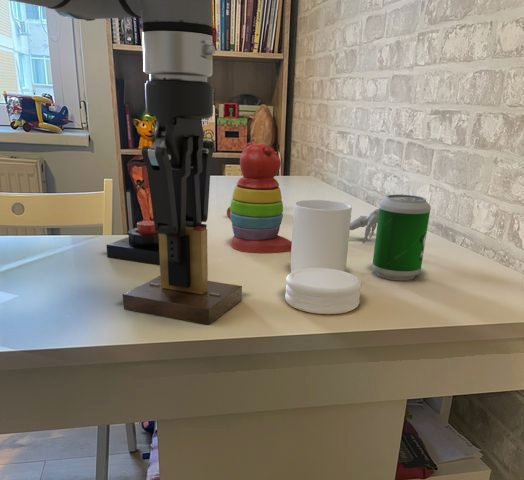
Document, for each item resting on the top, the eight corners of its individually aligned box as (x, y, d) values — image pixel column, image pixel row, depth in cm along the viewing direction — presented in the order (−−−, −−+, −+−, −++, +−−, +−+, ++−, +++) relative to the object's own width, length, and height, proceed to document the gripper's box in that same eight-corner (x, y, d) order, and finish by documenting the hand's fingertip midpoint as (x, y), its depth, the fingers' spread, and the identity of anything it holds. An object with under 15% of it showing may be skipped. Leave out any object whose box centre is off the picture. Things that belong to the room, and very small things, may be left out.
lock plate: (123, 309, 70) (122, 292, 69) (164, 287, 79) (163, 272, 78) (208, 325, 67) (208, 308, 66) (242, 300, 75) (242, 284, 74)
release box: (107, 257, 92) (105, 233, 90) (140, 244, 100) (139, 222, 99) (160, 265, 88) (159, 241, 87) (190, 251, 97) (189, 228, 95)
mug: (334, 261, 95) (340, 196, 90) (350, 282, 84) (358, 210, 79) (283, 260, 94) (287, 195, 89) (294, 282, 83) (298, 209, 79)
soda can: (416, 284, 84) (429, 203, 79) (367, 278, 86) (376, 198, 81) (421, 271, 91) (433, 196, 86) (375, 266, 93) (384, 192, 88)
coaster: (372, 311, 73) (376, 286, 71) (302, 318, 69) (304, 292, 68) (338, 288, 81) (340, 264, 80) (274, 293, 78) (275, 269, 76)
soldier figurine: (330, 252, 110) (390, 237, 104) (323, 225, 108) (383, 209, 102) (339, 245, 115) (396, 231, 109) (332, 219, 113) (390, 204, 108)
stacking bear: (297, 250, 100) (303, 145, 93) (250, 257, 95) (253, 146, 88) (263, 237, 108) (266, 140, 101) (218, 243, 103) (218, 141, 96)
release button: (133, 234, 92) (132, 223, 91) (145, 230, 95) (144, 219, 94) (152, 236, 91) (151, 226, 90) (163, 232, 94) (163, 222, 93)
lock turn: (160, 287, 72) (157, 224, 69) (167, 284, 74) (164, 221, 70) (202, 294, 70) (201, 229, 67) (207, 291, 72) (207, 226, 68)
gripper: (175, 77, 54) (182, 305, 64) (236, 82, 67) (234, 272, 77) (110, 75, 57) (126, 295, 66) (181, 80, 69) (185, 265, 79)
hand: (184, 282), depth 71 cm, fingers closed on lock turn, 2 cm apart
